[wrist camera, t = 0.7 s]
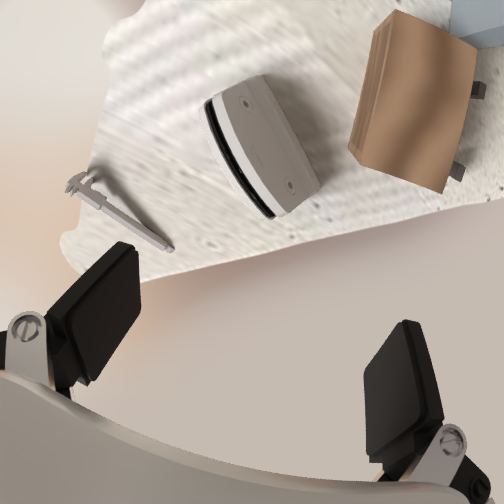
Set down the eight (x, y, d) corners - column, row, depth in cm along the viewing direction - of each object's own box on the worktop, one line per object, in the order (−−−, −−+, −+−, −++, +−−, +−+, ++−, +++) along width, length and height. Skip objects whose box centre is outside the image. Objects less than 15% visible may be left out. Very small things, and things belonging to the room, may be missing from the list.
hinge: (322, 189, 36) (294, 229, 30) (292, 198, 39) (259, 238, 33) (260, 72, 30) (212, 81, 24) (232, 89, 33) (181, 104, 27)
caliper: (83, 175, 42) (59, 187, 37) (85, 170, 41) (60, 182, 36) (172, 252, 46) (154, 273, 41) (175, 247, 45) (158, 269, 40)
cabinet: (347, 147, 33) (360, 165, 24) (374, 31, 25) (395, 9, 16) (444, 182, 32) (479, 210, 23) (473, 75, 24) (515, 75, 15)
